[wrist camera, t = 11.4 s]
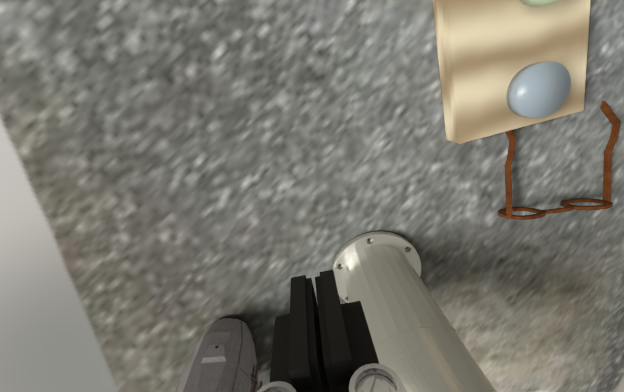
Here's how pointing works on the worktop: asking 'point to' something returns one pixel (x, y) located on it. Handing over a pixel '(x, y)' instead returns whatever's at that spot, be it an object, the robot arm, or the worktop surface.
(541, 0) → the sage key
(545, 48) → the wooden button board
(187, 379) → the small grey backpack
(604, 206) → the glasses
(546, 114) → the slate-blue key
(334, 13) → the worktop surface
